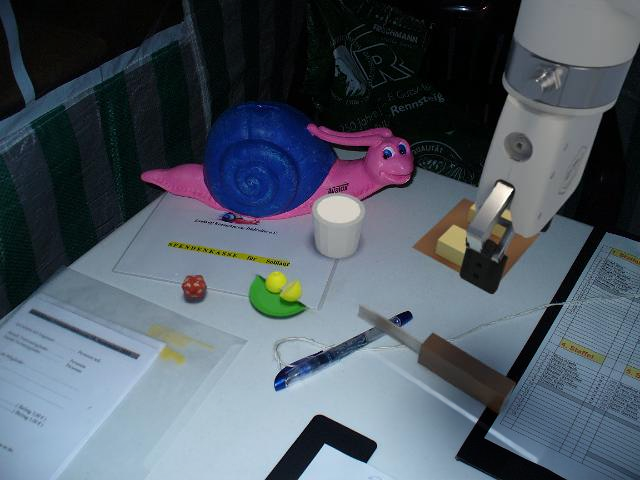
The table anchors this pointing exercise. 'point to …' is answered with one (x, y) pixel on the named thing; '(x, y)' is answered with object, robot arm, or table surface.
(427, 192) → the table surface
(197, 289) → the die
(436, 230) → the cutting board
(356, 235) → the white ramekin
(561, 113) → the robot arm
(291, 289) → the green and yellow piece
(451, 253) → the butter
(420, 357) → the knife
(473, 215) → the butter slice
